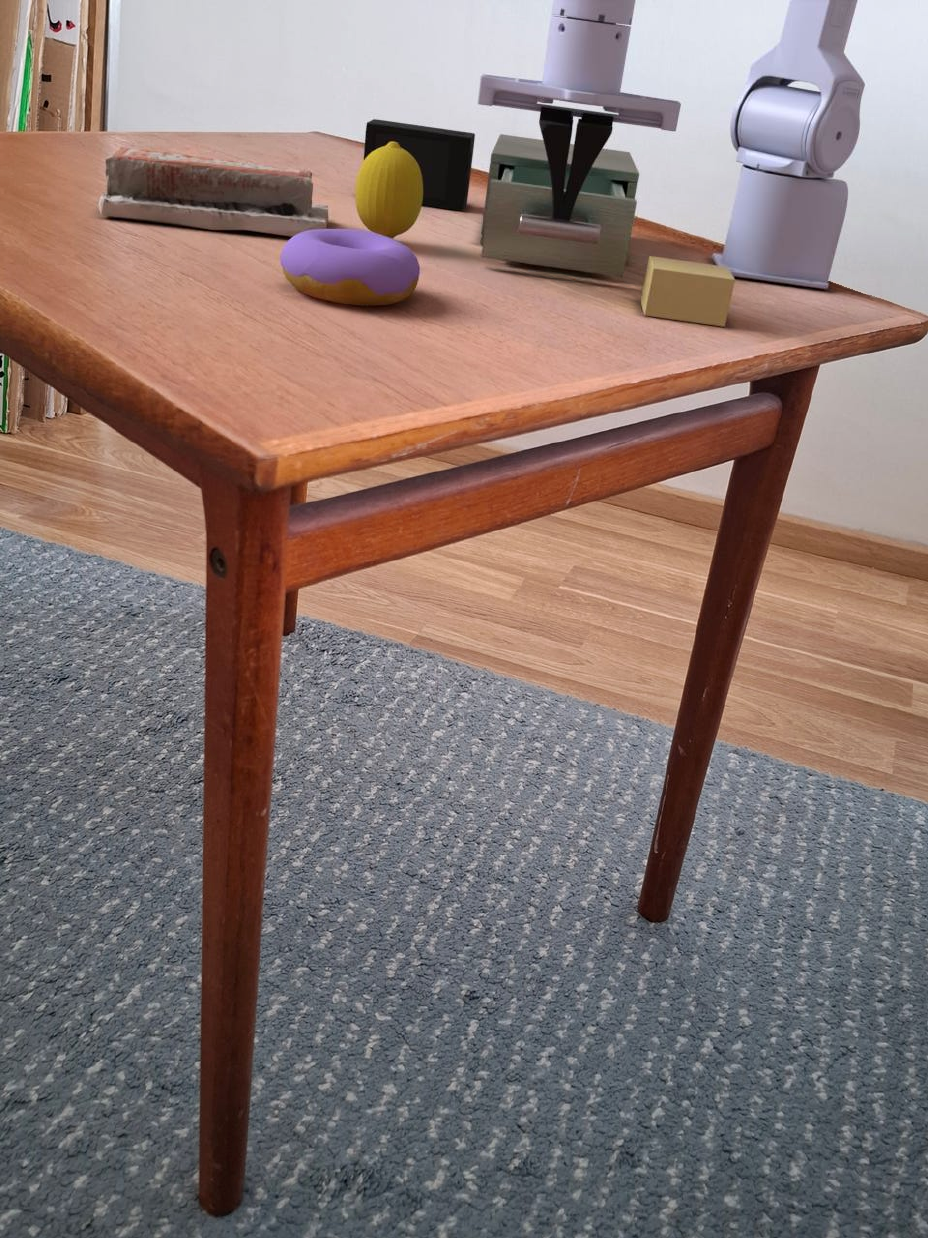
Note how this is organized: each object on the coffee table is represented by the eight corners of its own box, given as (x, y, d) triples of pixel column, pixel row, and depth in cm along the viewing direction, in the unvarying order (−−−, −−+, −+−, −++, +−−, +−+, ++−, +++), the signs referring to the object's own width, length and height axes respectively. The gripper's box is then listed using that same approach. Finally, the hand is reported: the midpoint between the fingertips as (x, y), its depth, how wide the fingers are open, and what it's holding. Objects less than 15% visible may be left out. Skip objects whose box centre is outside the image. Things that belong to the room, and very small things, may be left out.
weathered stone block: (95, 153, 92) (118, 137, 101) (96, 218, 94) (119, 197, 103) (329, 180, 94) (332, 162, 103) (325, 243, 97) (328, 220, 105)
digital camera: (469, 203, 123) (477, 131, 120) (463, 211, 119) (472, 136, 115) (369, 189, 124) (375, 116, 120) (360, 196, 119) (366, 121, 116)
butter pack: (717, 312, 92) (727, 266, 90) (724, 327, 88) (735, 278, 86) (640, 301, 92) (649, 255, 90) (643, 315, 88) (653, 267, 86)
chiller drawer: (626, 290, 91) (641, 211, 88) (477, 269, 91) (487, 189, 88) (616, 243, 108) (628, 176, 105) (490, 226, 108) (499, 158, 105)
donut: (249, 271, 83) (265, 200, 82) (356, 293, 89) (373, 228, 88) (324, 309, 77) (343, 232, 75) (435, 331, 83) (455, 261, 81)
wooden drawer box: (622, 264, 104) (639, 173, 101) (479, 244, 104) (491, 152, 101) (615, 233, 118) (630, 151, 115) (489, 215, 118) (499, 133, 115)
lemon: (408, 254, 97) (419, 149, 93) (343, 243, 98) (351, 139, 94) (424, 243, 102) (434, 143, 98) (361, 232, 103) (369, 133, 99)
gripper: (486, 7, 81) (462, 214, 87) (698, 36, 81) (659, 242, 87) (491, 6, 87) (468, 200, 94) (688, 33, 87) (652, 225, 94)
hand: (560, 219), depth 91 cm, fingers closed
